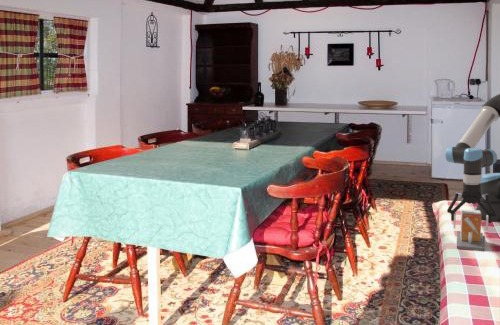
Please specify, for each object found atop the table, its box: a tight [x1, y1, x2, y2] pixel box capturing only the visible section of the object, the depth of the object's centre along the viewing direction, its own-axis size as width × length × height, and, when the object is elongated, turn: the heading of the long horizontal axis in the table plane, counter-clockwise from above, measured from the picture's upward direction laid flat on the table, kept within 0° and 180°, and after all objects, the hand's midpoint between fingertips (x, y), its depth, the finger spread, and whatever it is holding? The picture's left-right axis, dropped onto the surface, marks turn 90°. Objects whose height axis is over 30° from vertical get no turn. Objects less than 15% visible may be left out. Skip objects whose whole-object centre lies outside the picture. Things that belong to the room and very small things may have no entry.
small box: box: [460, 209, 482, 242], centre depth 249 cm, size 8×6×13 cm
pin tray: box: [456, 230, 485, 252], centre depth 250 cm, size 22×11×6 cm, turn 159°
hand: (470, 228), depth 249 cm, fingers open, 13 cm apart
